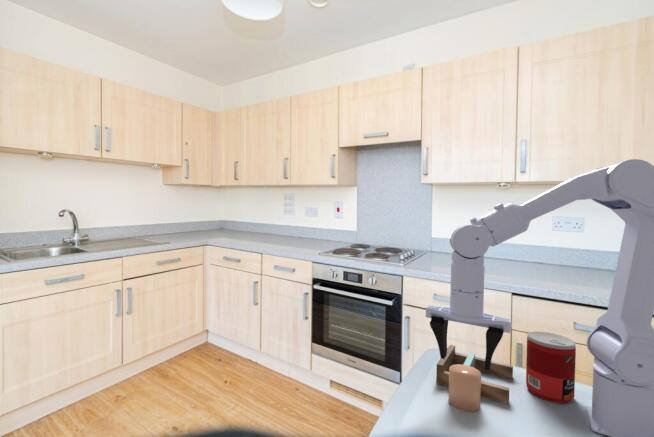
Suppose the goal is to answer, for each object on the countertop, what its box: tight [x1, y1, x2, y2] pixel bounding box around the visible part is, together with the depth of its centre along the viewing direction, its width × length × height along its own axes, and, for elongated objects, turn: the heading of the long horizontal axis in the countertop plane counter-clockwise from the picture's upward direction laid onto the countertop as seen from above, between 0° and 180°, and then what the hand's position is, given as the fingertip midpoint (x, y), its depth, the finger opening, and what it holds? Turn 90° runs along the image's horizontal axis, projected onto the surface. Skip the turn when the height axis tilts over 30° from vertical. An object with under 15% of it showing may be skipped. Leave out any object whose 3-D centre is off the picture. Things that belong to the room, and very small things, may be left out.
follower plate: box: [463, 352, 476, 368], centre depth 70 cm, size 1×9×4 cm, turn 147°
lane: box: [435, 344, 514, 405], centre depth 69 cm, size 13×12×4 cm
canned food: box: [525, 331, 577, 404], centre depth 65 cm, size 8×8×11 cm
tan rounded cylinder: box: [448, 364, 482, 413], centre depth 61 cm, size 6×6×6 cm
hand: (464, 362), depth 61 cm, fingers open, 7 cm apart
